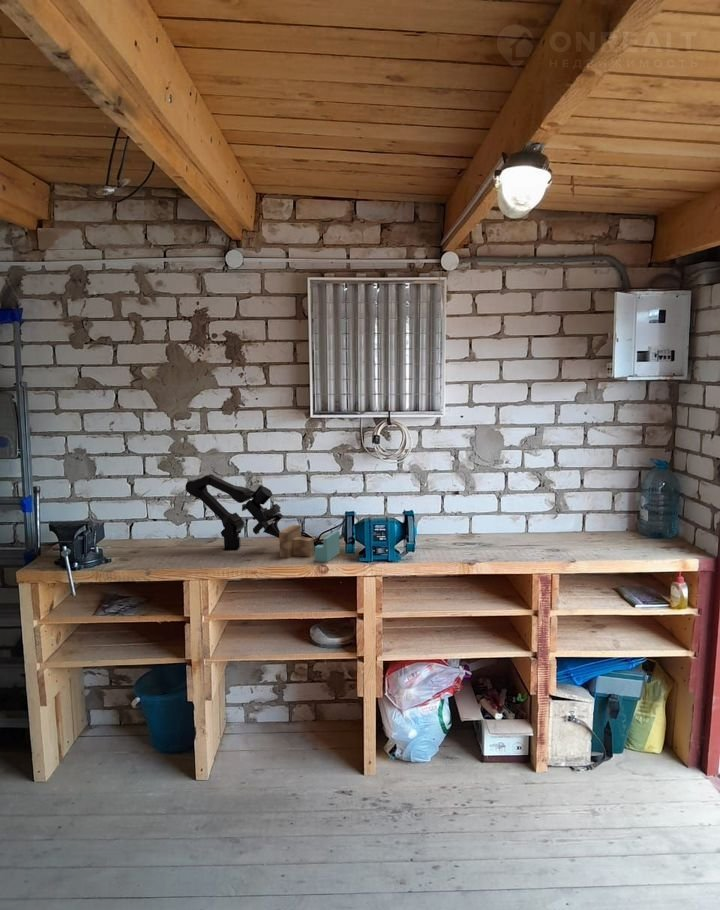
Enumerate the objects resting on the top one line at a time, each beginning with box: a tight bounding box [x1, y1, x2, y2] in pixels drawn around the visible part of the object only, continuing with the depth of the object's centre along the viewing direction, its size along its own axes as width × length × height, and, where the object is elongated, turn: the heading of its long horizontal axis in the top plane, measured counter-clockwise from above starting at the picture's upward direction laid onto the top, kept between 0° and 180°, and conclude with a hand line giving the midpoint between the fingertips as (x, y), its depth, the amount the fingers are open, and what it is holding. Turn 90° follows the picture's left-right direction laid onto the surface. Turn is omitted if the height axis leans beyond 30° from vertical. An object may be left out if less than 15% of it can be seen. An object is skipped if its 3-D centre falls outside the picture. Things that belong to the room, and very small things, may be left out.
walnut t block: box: [278, 524, 315, 559], centre depth 274 cm, size 12×13×11 cm
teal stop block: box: [314, 529, 341, 563], centre depth 269 cm, size 6×14×10 cm, turn 160°
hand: (281, 537), depth 276 cm, fingers closed
